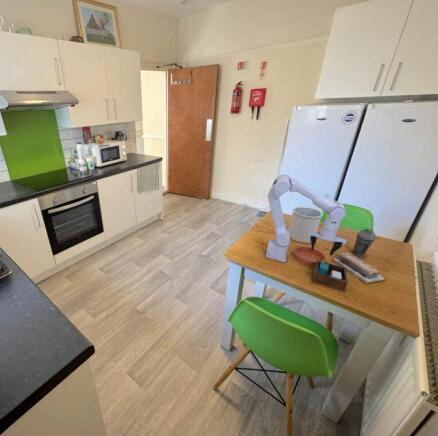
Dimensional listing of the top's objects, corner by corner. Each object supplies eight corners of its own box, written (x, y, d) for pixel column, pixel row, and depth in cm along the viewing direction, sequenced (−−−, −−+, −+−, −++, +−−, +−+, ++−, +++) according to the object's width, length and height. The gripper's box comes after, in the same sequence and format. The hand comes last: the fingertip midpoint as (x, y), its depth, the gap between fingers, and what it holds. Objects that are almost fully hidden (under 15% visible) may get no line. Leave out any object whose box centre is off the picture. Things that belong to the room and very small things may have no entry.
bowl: (291, 261, 124) (293, 256, 122) (293, 248, 134) (295, 243, 133) (324, 270, 117) (326, 265, 116) (324, 255, 127) (325, 251, 126)
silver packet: (329, 284, 108) (332, 276, 105) (328, 278, 111) (332, 270, 109) (337, 287, 106) (341, 278, 104) (337, 281, 110) (340, 272, 107)
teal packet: (316, 275, 113) (319, 267, 111) (317, 270, 117) (320, 262, 114) (324, 278, 112) (328, 269, 109) (325, 272, 115) (328, 264, 112)
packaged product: (334, 252, 121) (350, 250, 123) (331, 260, 124) (347, 257, 125) (370, 275, 106) (388, 272, 107) (366, 284, 108) (383, 280, 110)
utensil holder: (287, 240, 141) (294, 214, 133) (285, 229, 153) (291, 204, 145) (316, 245, 136) (326, 218, 128) (311, 233, 148) (320, 207, 140)
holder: (312, 282, 110) (316, 273, 107) (313, 268, 118) (316, 259, 116) (343, 291, 104) (347, 282, 102) (341, 276, 113) (345, 267, 110)
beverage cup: (363, 253, 128) (379, 220, 119) (368, 260, 122) (385, 227, 113) (347, 250, 131) (361, 218, 122) (350, 257, 125) (365, 224, 116)
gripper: (349, 228, 110) (338, 252, 116) (312, 220, 117) (304, 244, 123) (350, 235, 104) (339, 260, 111) (311, 227, 112) (303, 250, 118)
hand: (321, 252), depth 116 cm, fingers open, 7 cm apart
